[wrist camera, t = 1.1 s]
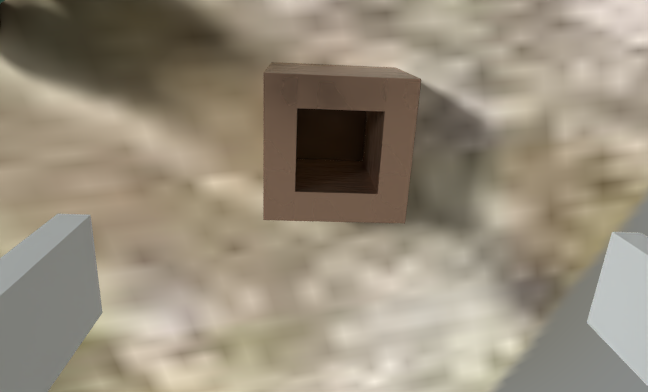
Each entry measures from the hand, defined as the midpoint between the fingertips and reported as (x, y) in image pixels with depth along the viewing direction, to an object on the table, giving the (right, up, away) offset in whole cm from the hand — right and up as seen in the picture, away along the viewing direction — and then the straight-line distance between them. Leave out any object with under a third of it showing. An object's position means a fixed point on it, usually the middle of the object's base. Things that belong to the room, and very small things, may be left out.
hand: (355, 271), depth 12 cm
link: (0, +6, +16) cm, 17 cm away
